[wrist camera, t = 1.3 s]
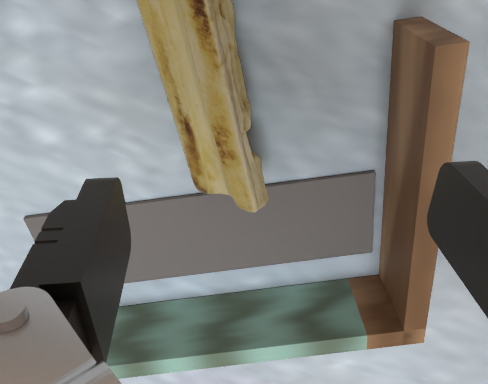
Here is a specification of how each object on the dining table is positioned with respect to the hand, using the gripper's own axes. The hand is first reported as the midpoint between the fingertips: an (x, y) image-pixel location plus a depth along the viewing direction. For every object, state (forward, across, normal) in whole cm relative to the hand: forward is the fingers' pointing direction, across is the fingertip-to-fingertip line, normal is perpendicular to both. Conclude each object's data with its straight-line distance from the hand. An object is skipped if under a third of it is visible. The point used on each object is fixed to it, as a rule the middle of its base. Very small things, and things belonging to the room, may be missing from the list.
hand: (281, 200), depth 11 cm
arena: (+16, +1, +10) cm, 19 cm away
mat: (+16, +3, +13) cm, 21 cm away
